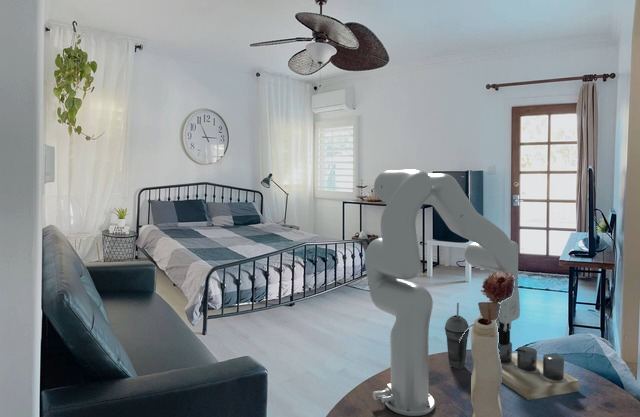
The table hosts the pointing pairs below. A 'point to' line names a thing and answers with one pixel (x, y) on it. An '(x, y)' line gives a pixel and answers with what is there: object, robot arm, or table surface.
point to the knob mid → (527, 358)
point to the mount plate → (535, 381)
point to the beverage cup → (456, 340)
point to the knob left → (505, 352)
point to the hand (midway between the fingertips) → (503, 342)
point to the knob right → (553, 366)
